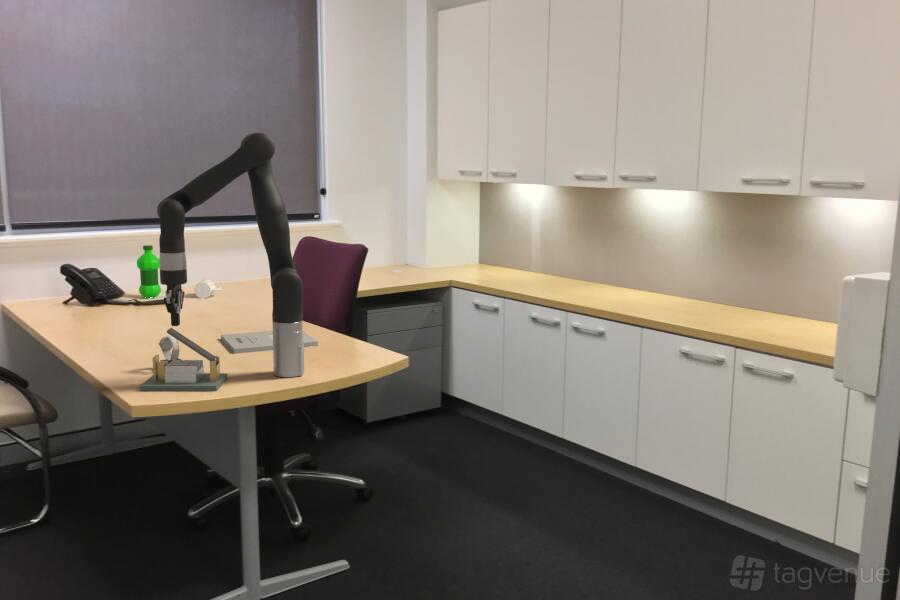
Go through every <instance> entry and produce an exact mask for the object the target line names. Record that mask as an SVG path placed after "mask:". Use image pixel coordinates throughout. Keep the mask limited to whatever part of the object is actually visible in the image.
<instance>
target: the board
mask: <svg viewBox="0 0 900 600" xmlns="http://www.w3.org/2000/svg"><path fill="white" fill-rule="evenodd" d="M228 378H229V377H228V373H227V372H226V373H221V372H220V379H219V380H218V381H216V382H210V372H209V373H208V372H207V373H205V372H204V376H203V377H202V378H201V379H200V380H199V381H198V382H197V383H196V384H165V381H158V380H157V381H154V378H153V374H152V375H151V376H150V377H149V378H148V379H146V380H145V381H144V382H142V384H141V385H139V391H141V392H145V391H146V392H217V391H218V390H219V389H220V387H221V386H222V385H223V384H224V383H225V382H226V381H227V379H228Z"/></svg>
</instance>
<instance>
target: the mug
mask: <svg viewBox="0 0 900 600" xmlns="http://www.w3.org/2000/svg"><path fill="white" fill-rule="evenodd" d="M193 289H194V290H193V291H194V295H195V296H196V297H197V298H199V299H207V298H209V296H211V295H212V294H213V293H214V292H220V291H222V289H223V288H222V287H221V286H216V284H215V283H214V281H212V280H211V279H206V278H204V279H202V280H201V281H199V282H198V283H196V285H195V286H194V288H193Z"/></svg>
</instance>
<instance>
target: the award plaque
mask: <svg viewBox="0 0 900 600" xmlns="http://www.w3.org/2000/svg"><path fill="white" fill-rule="evenodd" d="M220 340H221V341H222V343H224V344H225V345H226V347H228V348H229V350H230V351H232V353H233V354H234V355H236V354H247V353H257V352H266V351H267V352H269V351H273V330H263V331H253V332H252V331H251V332H240V333H239V332H238V333H228V334H221V335H220ZM303 342H304V348H311V347H310V346H313V347H319V342H318V341H317V340H316V339H315V338H313V337H312V336H311V335H309V334H307V332H305V331H304V330H303Z"/></svg>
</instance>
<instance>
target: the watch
mask: <svg viewBox="0 0 900 600" xmlns="http://www.w3.org/2000/svg"><path fill="white" fill-rule="evenodd" d="M157 344H158V346H159V347H160V349H161V352H162V354H163V357H164V359H161V360H160V359H159V362H160V361H168V364H169V363H171V361H172V360H182V359H181V358H179V355H180V345H179V340H177V339H176V338H174V337H173V336H171V335H166V336H164V337H162V338H161V339H160V340H159V343H157Z"/></svg>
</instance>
